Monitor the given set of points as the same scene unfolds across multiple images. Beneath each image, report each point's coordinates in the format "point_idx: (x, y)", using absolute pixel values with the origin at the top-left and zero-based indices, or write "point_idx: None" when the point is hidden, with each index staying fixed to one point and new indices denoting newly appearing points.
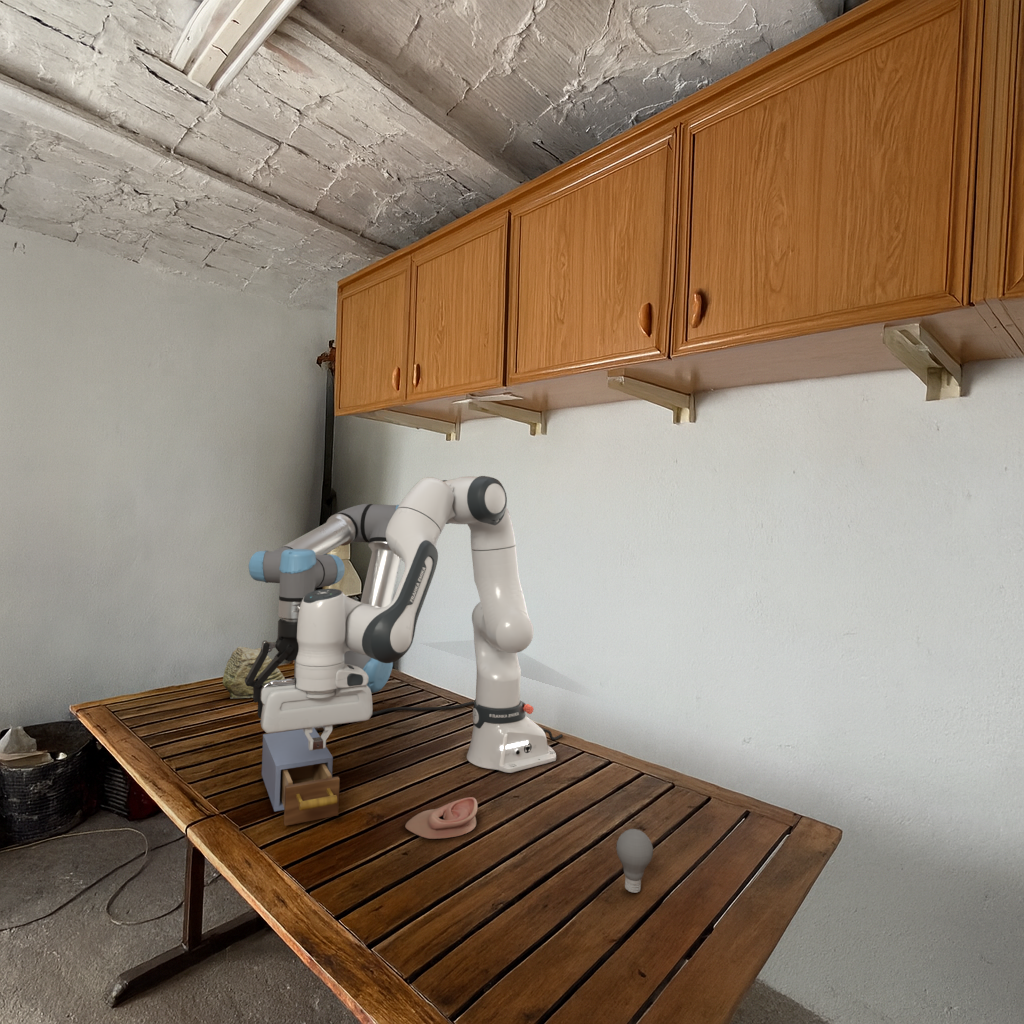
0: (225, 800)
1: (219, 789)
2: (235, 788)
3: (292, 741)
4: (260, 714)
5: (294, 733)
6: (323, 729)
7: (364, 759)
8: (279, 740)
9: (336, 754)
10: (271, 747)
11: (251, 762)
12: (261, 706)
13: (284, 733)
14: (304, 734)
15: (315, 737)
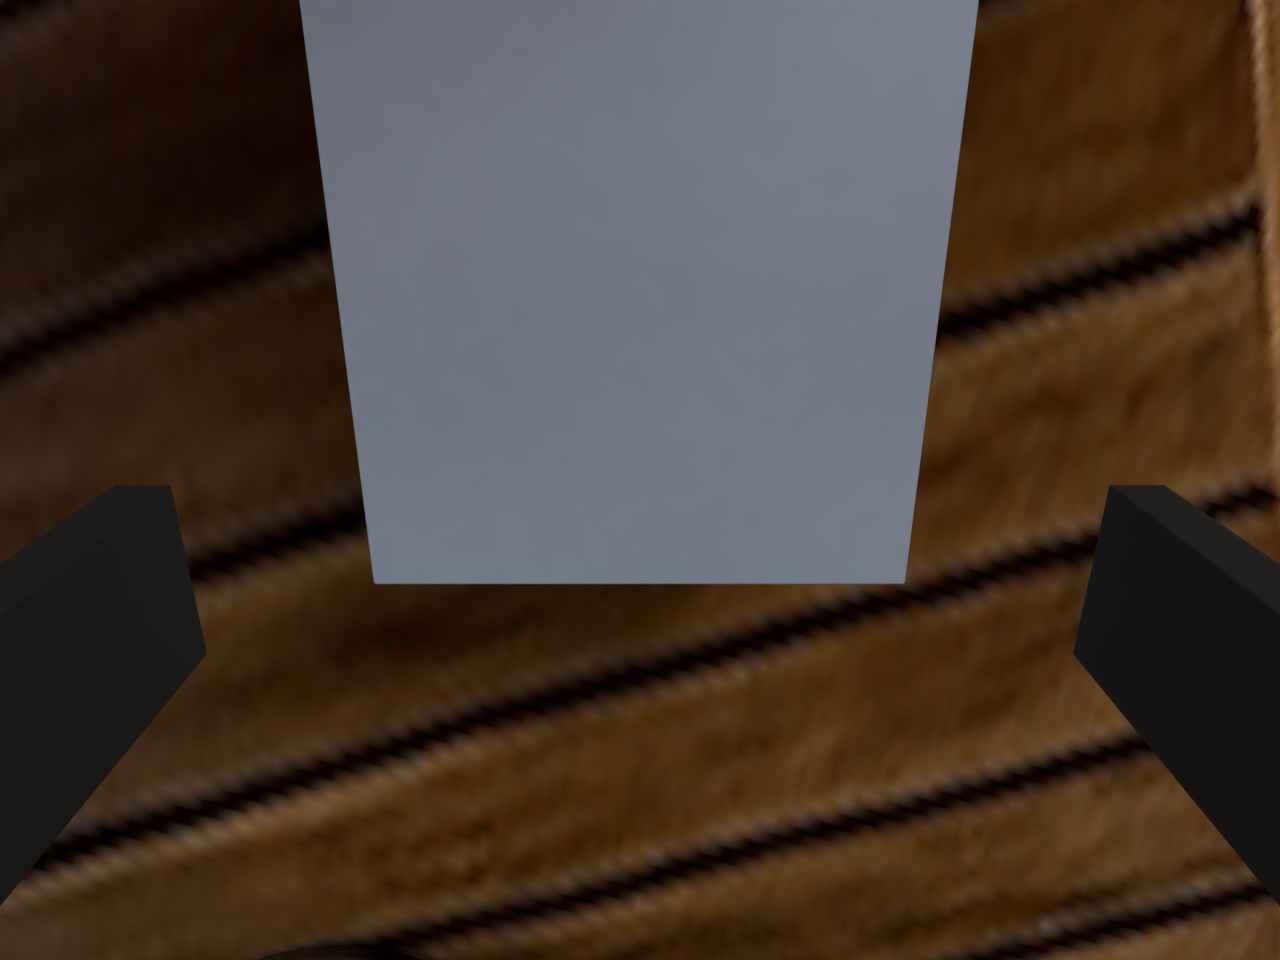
0: (1152, 108)
1: (1134, 318)
2: (1034, 290)
3: (663, 258)
4: (1182, 506)
5: (600, 490)
6: (316, 953)
7: (62, 423)
8: (791, 350)
9: (267, 582)
10: (926, 161)
11: (837, 659)
12: (1255, 574)
13: (699, 530)
14: (500, 423)
15: (390, 287)
